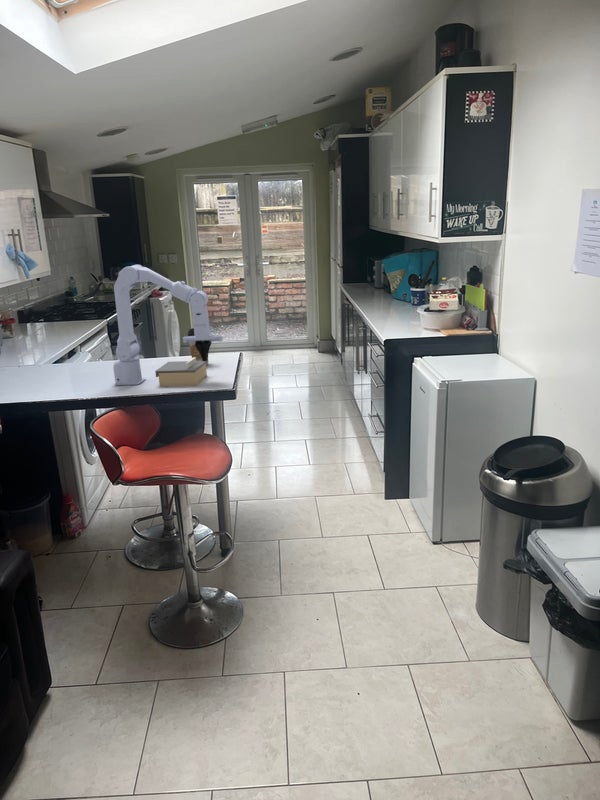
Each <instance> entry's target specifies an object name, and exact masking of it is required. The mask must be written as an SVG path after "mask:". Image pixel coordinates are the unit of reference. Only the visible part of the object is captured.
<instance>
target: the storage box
mask: <svg viewBox="0 0 600 800" xmlns="http://www.w3.org/2000/svg"><path fill="white" fill-rule="evenodd" d="M207 373H208V372H207V365H206V363H205V364H204V365H203V366H202V367H200V368H199V369H198V370H197V371H196V372H159V373H158V376H159V377H158V383H159V387H178V386H179V387H180V386H182V387H183V386H184V387H187V386H191V387H192V386H198V384H200V383H201V382H202V381H203V380H204V379H205V378H207V376H208V374H207Z"/></svg>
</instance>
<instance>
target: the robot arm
mask: <svg viewBox="0 0 600 800" xmlns="http://www.w3.org/2000/svg"><path fill="white" fill-rule="evenodd" d="M146 282H148V283H149V282H150V283H152V284H154V285H156V286H159V287H161V288H163V289H165V290H168V291H170V294H171V296H173V297H174V298H176V299H178V300H181V301H182V302H184V303H187V304H189V305H190V307H191V311H192V313H191V314H192V325H193V328H194V334H195V336H188V335H187V336H183V337H182V342H183V344H186V343H189V342H196V343H195V346H196V348H197V349H198V351H199V353H200V355H201V358H202V361H207V360H208V361H209V352H210V348H211V345H212V342H223V340H224V339H223V335H219V334H218V335H216V334H215V335H213V334H211V330H210V319H209V311H208V309H209V308H208V303H209V296H208V293H206V292H205V291H203V290H201V289H199V290H198V288H197V287H192V286H190V285H187V284H186V281H184V280H182V281H180V280H177V281H172V280H170V279H169V278H167V277H165V276H163V275H161V274H160V273H158V272H155V271H154V270H152V269H150V268H148V267H146V266H143V265H141V264H137V263H136V264H133V265H131V266H129V265H128V266H125V267H123V268H122V269H121V270H120V271H119V272H118V276H117V279H116V281H115V283H114V285H113V292H114V301H115V308H116V309H115V310H116V318H117V327H118V334H119V335H118V338H117V341H116V343H117V344H116V348H115V355H116V357H117V358H118V359H116V360H114V363H113V374H114V382H115V383H114V386H121V385H122V386H126V385H129V386H132V385H133V386H136V385H140V384H141V383H143V382H144V381H146V380H147V378H146V377H143V376H142V369H141V362H140V356H139V354H140V353H141V345H140V344H139V341H138V337H137V335H136V334H135V331H134V324H133V323H134V322H133V314H132V305H131V296H130V291H131V290H132V289H133V288H134V287H135V286H136V285H137V284H141V283H146Z"/></svg>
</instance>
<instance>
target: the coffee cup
mask: <svg viewBox="0 0 600 800" xmlns="http://www.w3.org/2000/svg"><path fill="white" fill-rule="evenodd" d="M187 331H188V332H187V336H195V334H194V327H192V328H189V329H187ZM195 343H196V342H188V344H189V349H190V354H191V359H192V358H193V357H196V361H202V358H201V355H200V353H199V351H198V349H197V348H196V346H195ZM207 365H209V359H208V360H207V361H206V366H207Z"/></svg>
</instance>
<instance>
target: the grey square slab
mask: <svg viewBox="0 0 600 800" xmlns="http://www.w3.org/2000/svg"><path fill="white" fill-rule="evenodd" d="M205 363H206V361H196V357H193V358H192V357H191V359H190V360H189V359H188V360H184V361H180V360H179V361H178V360H177V361H167V362H166V363H164V364H163V365H161V366H160V367H158V368H157V369H156V370H155V377H156V378H159V376H158V373H159V372H196V371H197V370H198V369H199V368H200V367H202V366H203V365H204V364H205Z"/></svg>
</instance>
